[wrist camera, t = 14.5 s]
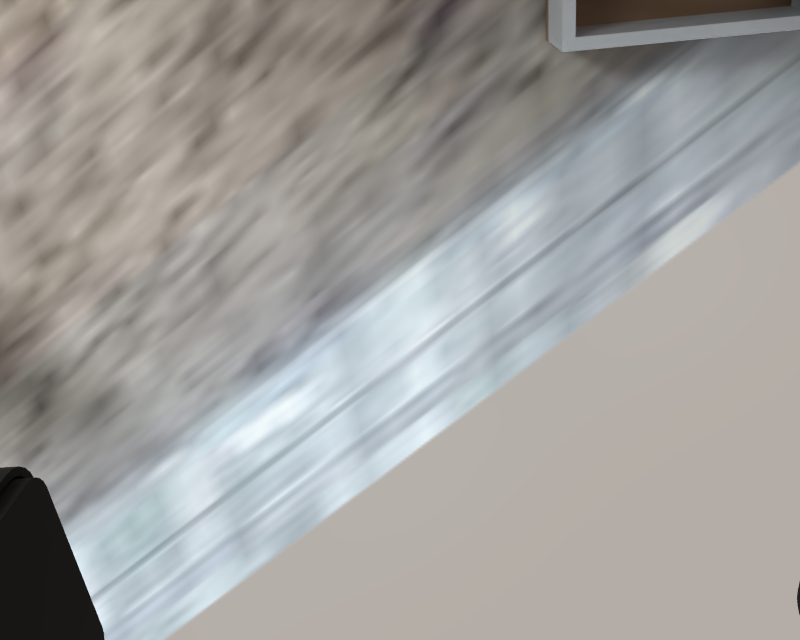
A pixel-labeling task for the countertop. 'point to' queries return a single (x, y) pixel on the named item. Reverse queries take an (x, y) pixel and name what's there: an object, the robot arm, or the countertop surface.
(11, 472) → the robot arm
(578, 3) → the pen board
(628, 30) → the grey tray
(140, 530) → the countertop surface
